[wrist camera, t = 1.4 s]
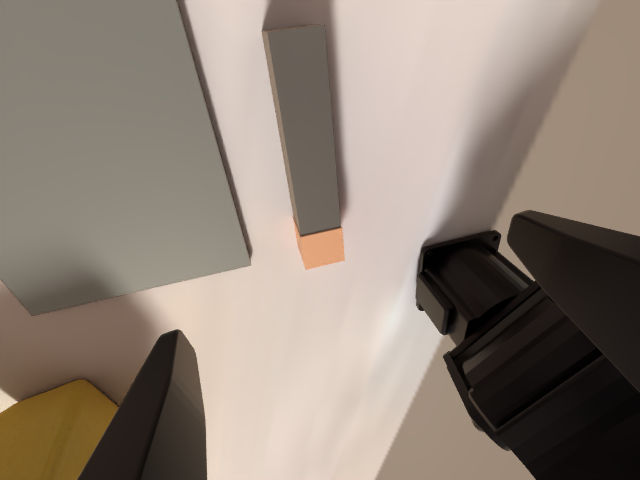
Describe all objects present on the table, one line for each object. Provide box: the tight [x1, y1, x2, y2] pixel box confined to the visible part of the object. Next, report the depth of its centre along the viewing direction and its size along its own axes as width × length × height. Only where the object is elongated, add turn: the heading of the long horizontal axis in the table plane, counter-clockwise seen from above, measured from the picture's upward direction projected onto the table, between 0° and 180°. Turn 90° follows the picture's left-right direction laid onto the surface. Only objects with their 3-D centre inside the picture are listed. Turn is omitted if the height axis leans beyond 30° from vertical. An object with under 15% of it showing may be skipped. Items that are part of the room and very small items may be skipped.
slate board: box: [0, 0, 251, 316], centre depth 17 cm, size 13×15×1 cm
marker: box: [262, 24, 345, 269], centre depth 18 cm, size 2×12×2 cm, turn 6°
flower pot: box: [0, 379, 119, 480], centre depth 22 cm, size 9×9×9 cm
